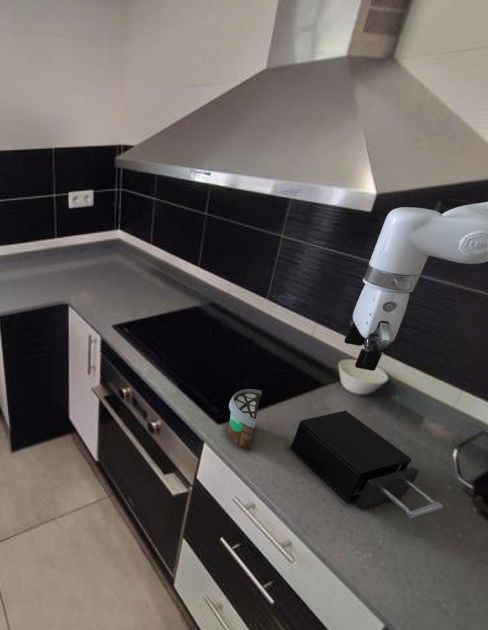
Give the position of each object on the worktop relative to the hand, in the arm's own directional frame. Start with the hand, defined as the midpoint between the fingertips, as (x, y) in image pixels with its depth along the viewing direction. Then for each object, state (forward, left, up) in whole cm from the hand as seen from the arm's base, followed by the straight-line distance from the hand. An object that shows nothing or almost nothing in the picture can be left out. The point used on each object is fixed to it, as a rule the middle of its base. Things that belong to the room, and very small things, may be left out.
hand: (358, 355), depth 78 cm
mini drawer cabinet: (+2, +6, -25) cm, 26 cm away
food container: (+17, -9, -25) cm, 31 cm away
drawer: (+2, +12, -24) cm, 27 cm away
